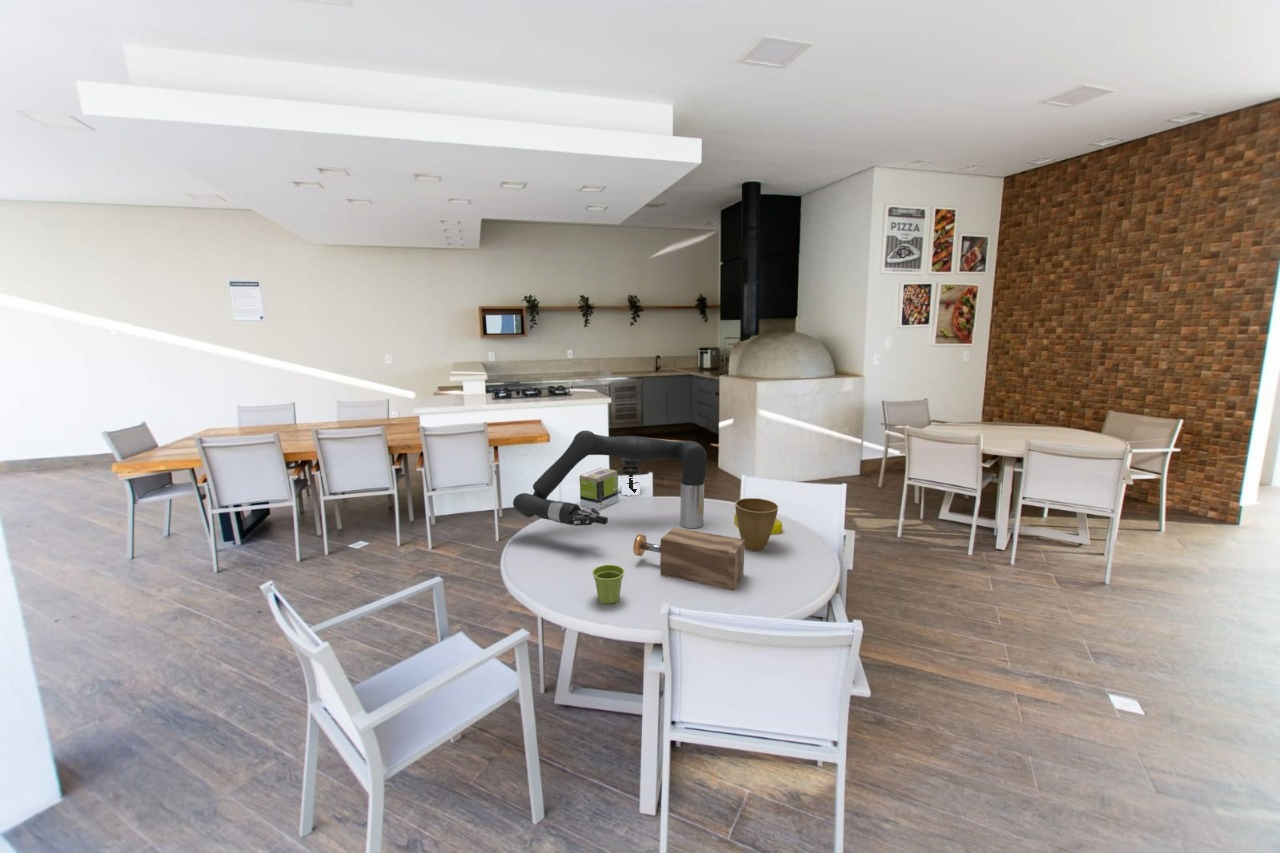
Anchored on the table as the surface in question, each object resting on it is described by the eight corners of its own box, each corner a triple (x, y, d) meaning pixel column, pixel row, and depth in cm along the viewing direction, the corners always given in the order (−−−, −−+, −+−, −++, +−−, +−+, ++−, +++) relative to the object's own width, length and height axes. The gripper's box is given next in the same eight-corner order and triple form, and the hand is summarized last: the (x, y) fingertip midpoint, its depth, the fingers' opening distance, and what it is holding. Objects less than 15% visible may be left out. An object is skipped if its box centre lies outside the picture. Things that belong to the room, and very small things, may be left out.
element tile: (783, 534, 207) (784, 522, 206) (746, 537, 204) (747, 525, 203) (767, 520, 221) (767, 509, 220) (732, 523, 218) (732, 511, 217)
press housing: (673, 560, 183) (673, 527, 180) (743, 575, 173) (744, 539, 170) (660, 574, 173) (660, 539, 170) (733, 590, 163) (735, 553, 160)
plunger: (642, 550, 185) (642, 531, 183) (699, 562, 176) (700, 541, 175) (633, 558, 179) (633, 538, 177) (692, 570, 170) (692, 549, 169)
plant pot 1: (586, 604, 155) (586, 575, 153) (600, 589, 163) (600, 562, 162) (617, 610, 151) (616, 581, 150) (629, 594, 160) (629, 567, 158)
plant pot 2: (743, 557, 185) (745, 513, 182) (727, 540, 200) (729, 499, 197) (783, 553, 188) (785, 510, 185) (765, 537, 203) (767, 496, 200)
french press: (641, 490, 260) (641, 443, 255) (642, 496, 250) (642, 447, 246) (617, 490, 259) (616, 443, 255) (617, 496, 250) (617, 448, 245)
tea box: (601, 498, 248) (601, 466, 245) (618, 502, 242) (618, 470, 239) (579, 507, 236) (578, 474, 233) (597, 511, 230) (596, 478, 227)
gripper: (553, 508, 185) (597, 516, 178) (574, 497, 197) (616, 504, 190) (553, 528, 187) (597, 538, 179) (574, 517, 198) (615, 525, 191)
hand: (606, 521), depth 185 cm, fingers closed
